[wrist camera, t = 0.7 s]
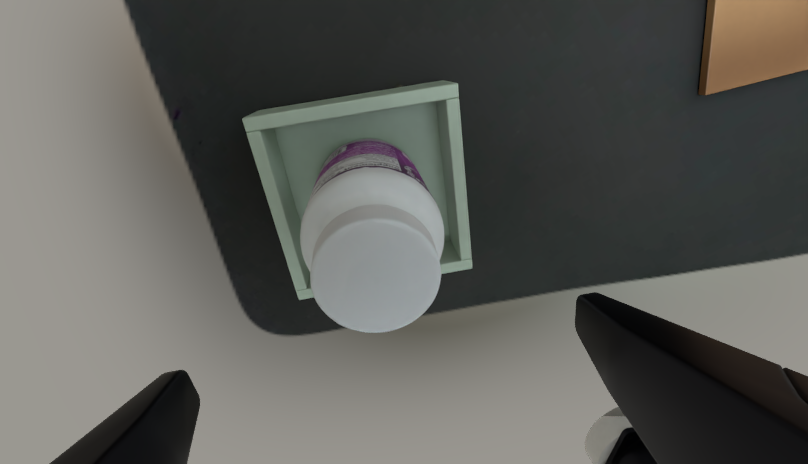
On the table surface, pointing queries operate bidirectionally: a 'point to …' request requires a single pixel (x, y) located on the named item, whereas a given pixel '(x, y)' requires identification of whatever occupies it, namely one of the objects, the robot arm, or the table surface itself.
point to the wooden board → (752, 42)
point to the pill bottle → (372, 238)
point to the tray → (351, 120)
